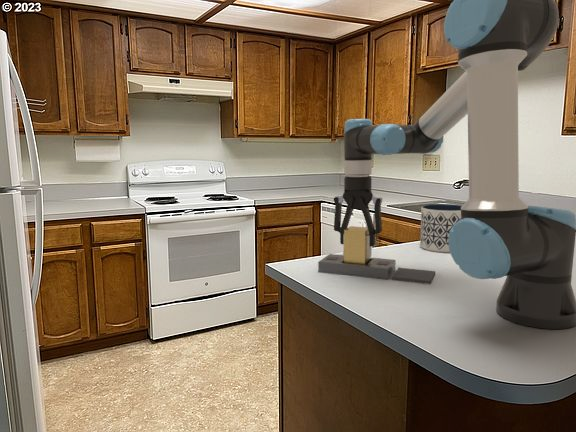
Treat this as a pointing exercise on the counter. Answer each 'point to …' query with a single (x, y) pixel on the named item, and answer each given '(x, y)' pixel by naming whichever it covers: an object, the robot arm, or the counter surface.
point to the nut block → (356, 245)
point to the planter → (438, 225)
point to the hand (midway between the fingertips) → (357, 256)
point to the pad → (414, 275)
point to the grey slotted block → (357, 267)
